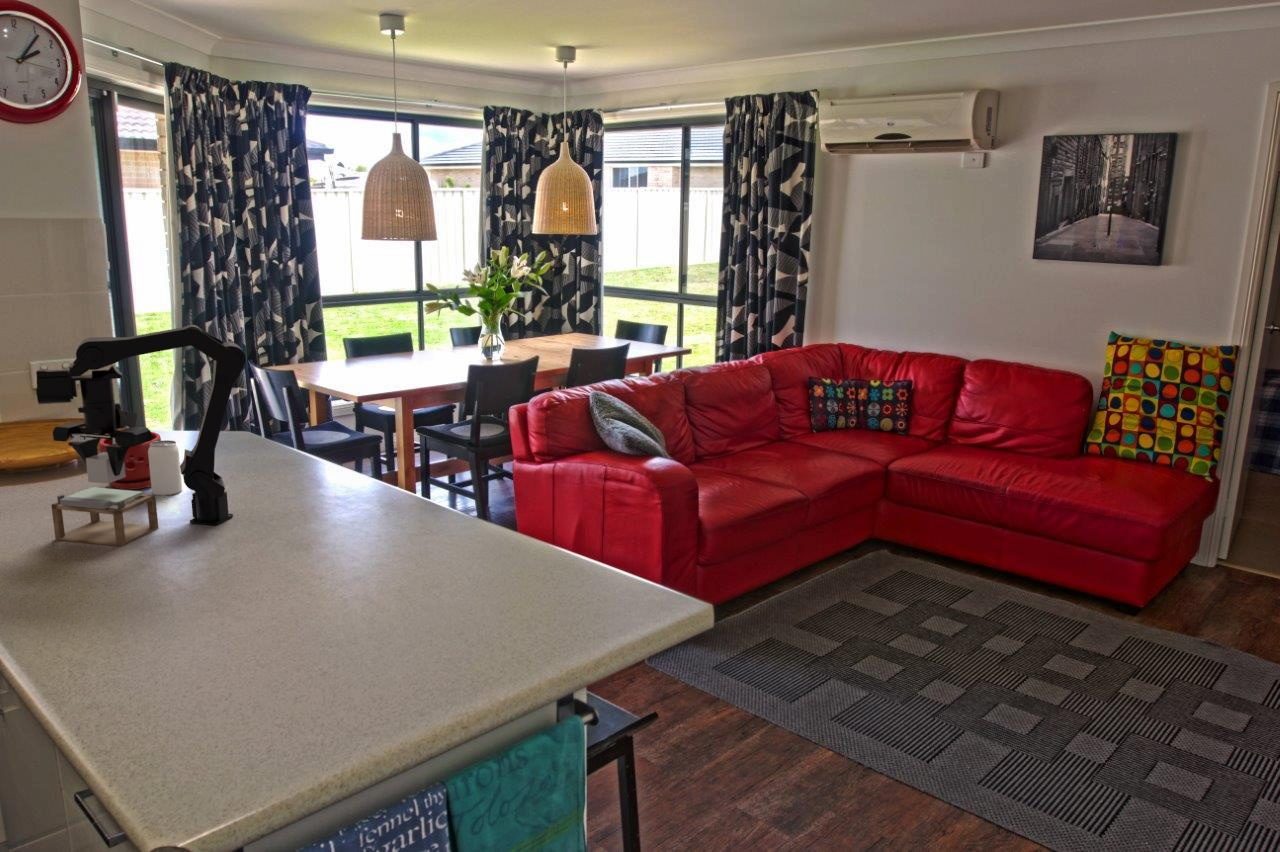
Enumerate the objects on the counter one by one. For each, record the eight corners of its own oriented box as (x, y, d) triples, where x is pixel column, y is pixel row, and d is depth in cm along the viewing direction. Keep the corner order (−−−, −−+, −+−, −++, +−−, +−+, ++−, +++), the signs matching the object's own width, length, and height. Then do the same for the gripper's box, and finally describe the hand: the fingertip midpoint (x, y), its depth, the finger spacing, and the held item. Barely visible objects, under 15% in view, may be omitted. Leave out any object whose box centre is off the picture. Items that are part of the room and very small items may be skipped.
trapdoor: (143, 495, 197) (143, 489, 196) (109, 509, 187) (109, 504, 187) (91, 490, 199) (90, 485, 198) (55, 504, 189) (54, 499, 189)
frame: (158, 528, 200) (154, 488, 198) (121, 546, 189) (117, 504, 187) (95, 522, 202) (90, 482, 200) (55, 539, 192) (50, 498, 190)
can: (173, 496, 221) (169, 447, 218) (146, 495, 221) (141, 446, 218) (187, 488, 227) (183, 440, 224) (160, 487, 227) (156, 439, 224)
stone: (125, 476, 196) (123, 453, 195) (108, 483, 192) (105, 460, 190) (106, 475, 197) (103, 452, 196) (88, 481, 192) (85, 458, 191)
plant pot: (106, 480, 232) (101, 433, 229) (165, 475, 237) (161, 429, 234) (101, 495, 220) (96, 445, 217) (164, 489, 226) (159, 441, 223)
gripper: (166, 395, 197) (172, 467, 200) (87, 390, 200) (95, 461, 204) (128, 406, 186) (136, 482, 190) (46, 400, 189) (55, 475, 193)
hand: (106, 474), depth 194 cm, fingers closed on stone, 5 cm apart
